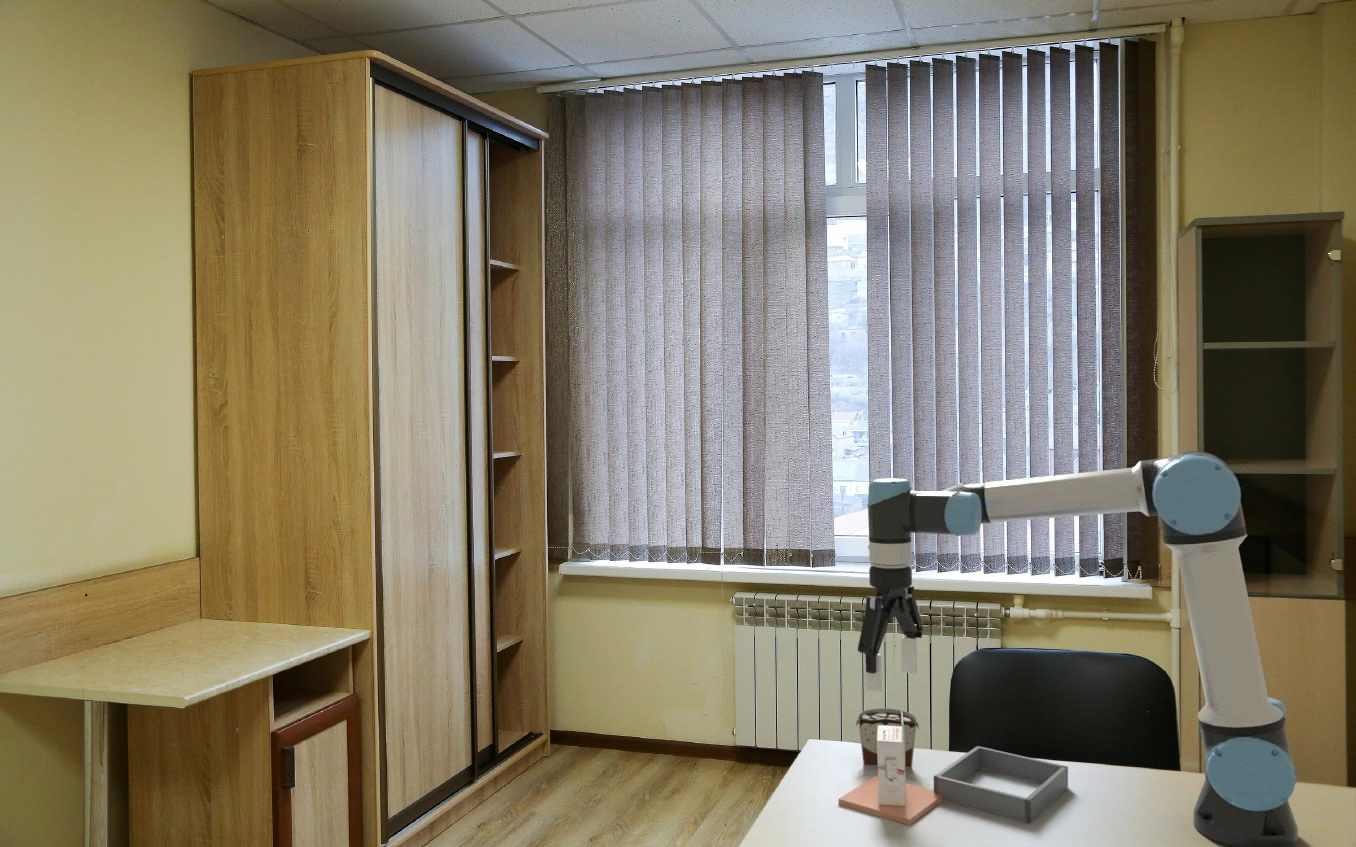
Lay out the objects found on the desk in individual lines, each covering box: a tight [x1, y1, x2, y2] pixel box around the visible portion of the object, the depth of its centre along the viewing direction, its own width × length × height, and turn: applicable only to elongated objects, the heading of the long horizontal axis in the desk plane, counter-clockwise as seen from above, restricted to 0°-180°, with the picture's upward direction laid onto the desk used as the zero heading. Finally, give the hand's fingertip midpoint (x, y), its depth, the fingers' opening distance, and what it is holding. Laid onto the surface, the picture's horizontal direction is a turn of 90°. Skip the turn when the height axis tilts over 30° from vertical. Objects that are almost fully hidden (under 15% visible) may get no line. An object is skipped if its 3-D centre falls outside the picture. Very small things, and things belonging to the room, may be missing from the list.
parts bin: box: [933, 745, 1069, 824], centre depth 182 cm, size 18×20×4 cm
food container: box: [855, 707, 920, 769], centre depth 198 cm, size 12×6×10 cm, turn 80°
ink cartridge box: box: [877, 710, 906, 806], centre depth 178 cm, size 9×5×15 cm, turn 168°
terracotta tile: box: [838, 774, 944, 826], centre depth 179 cm, size 14×14×1 cm
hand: (892, 681), depth 178 cm, fingers open, 13 cm apart
